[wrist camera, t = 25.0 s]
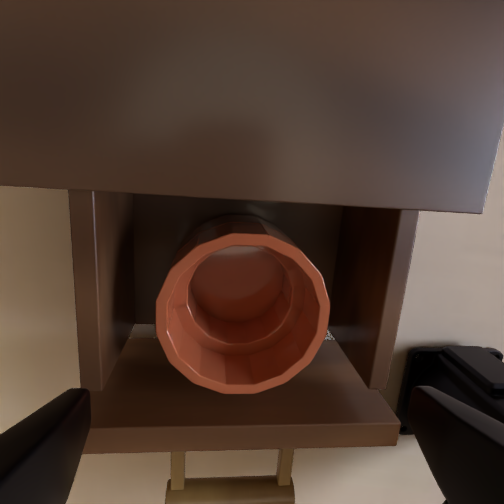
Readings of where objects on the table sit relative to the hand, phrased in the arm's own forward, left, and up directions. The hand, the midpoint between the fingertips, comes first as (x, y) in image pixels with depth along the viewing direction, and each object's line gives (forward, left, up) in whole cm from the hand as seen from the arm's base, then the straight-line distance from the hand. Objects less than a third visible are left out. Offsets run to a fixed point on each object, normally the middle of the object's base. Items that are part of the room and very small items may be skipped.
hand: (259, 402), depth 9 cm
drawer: (-1, 0, -11) cm, 11 cm away
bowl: (0, 0, -10) cm, 10 cm away
